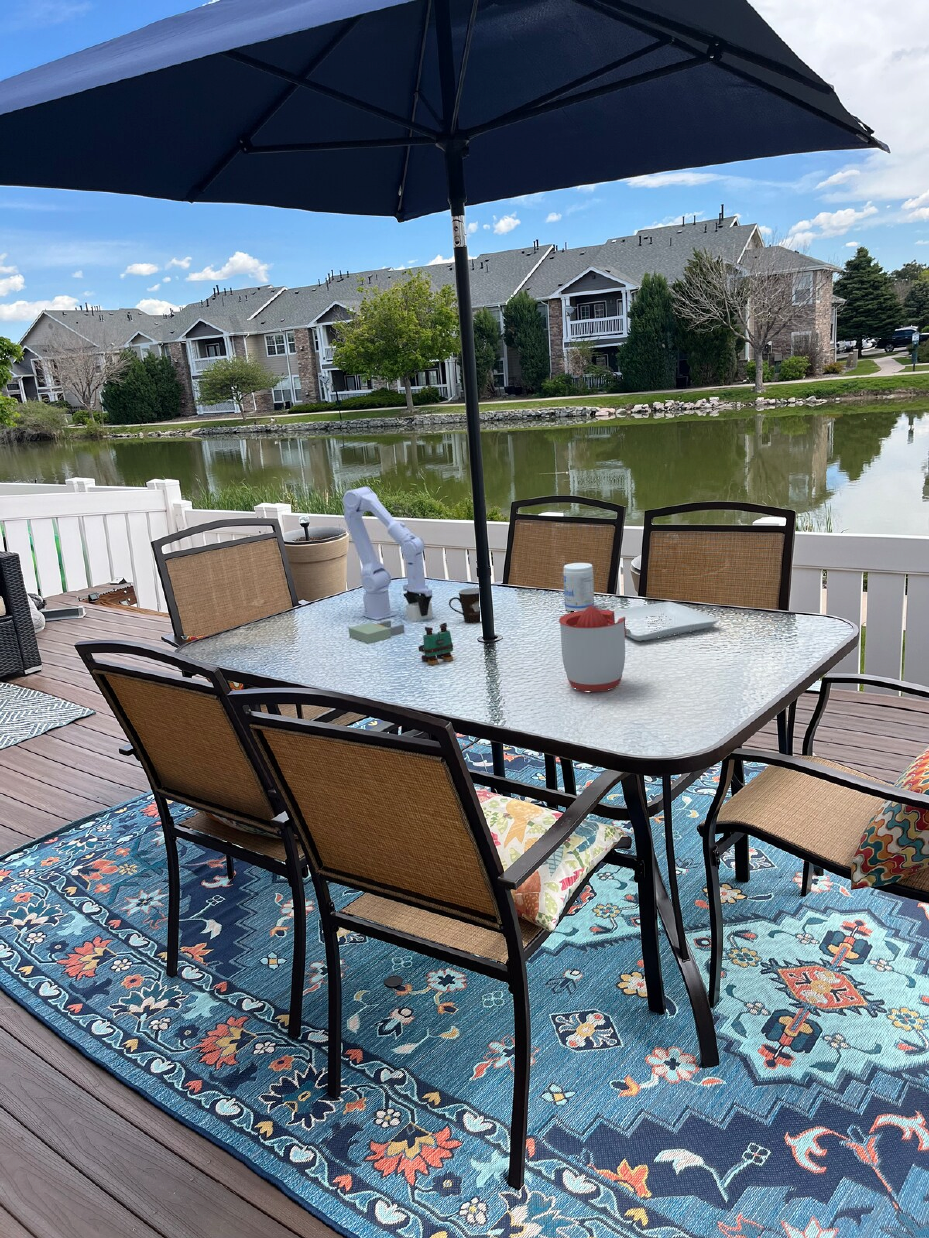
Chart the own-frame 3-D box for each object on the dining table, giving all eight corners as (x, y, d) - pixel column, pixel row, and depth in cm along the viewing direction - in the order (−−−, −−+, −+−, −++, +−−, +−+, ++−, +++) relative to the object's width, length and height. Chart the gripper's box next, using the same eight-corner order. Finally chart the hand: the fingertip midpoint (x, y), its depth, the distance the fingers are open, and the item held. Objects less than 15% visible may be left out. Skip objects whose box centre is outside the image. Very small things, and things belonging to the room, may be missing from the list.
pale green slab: (349, 636, 264) (348, 627, 263) (387, 627, 272) (386, 617, 271) (368, 643, 254) (367, 633, 253) (407, 633, 262) (406, 623, 261)
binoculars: (438, 619, 237) (453, 622, 228) (443, 655, 239) (458, 660, 230) (409, 625, 233) (424, 629, 225) (415, 661, 235) (429, 666, 226)
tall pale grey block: (407, 619, 279) (405, 605, 278) (424, 614, 283) (423, 600, 282) (415, 621, 275) (414, 607, 274) (432, 617, 279) (431, 602, 278)
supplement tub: (559, 610, 274) (556, 566, 270) (579, 604, 279) (577, 561, 275) (579, 614, 266) (577, 569, 262) (600, 608, 272) (598, 564, 268)
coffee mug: (488, 616, 274) (486, 587, 271) (486, 623, 265) (484, 593, 263) (453, 618, 275) (450, 589, 272) (450, 625, 267) (447, 595, 264)
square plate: (669, 611, 262) (669, 599, 261) (721, 631, 237) (721, 618, 236) (591, 625, 255) (591, 613, 254) (636, 647, 229) (636, 634, 228)
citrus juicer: (646, 688, 197) (643, 606, 192) (578, 700, 193) (574, 617, 188) (616, 669, 212) (613, 593, 207) (552, 681, 207) (548, 603, 202)
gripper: (438, 574, 272) (441, 614, 275) (413, 569, 283) (417, 608, 287) (420, 578, 268) (424, 619, 271) (396, 573, 279) (400, 612, 283)
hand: (419, 614), depth 279 cm, fingers closed on tall pale grey block, 5 cm apart
